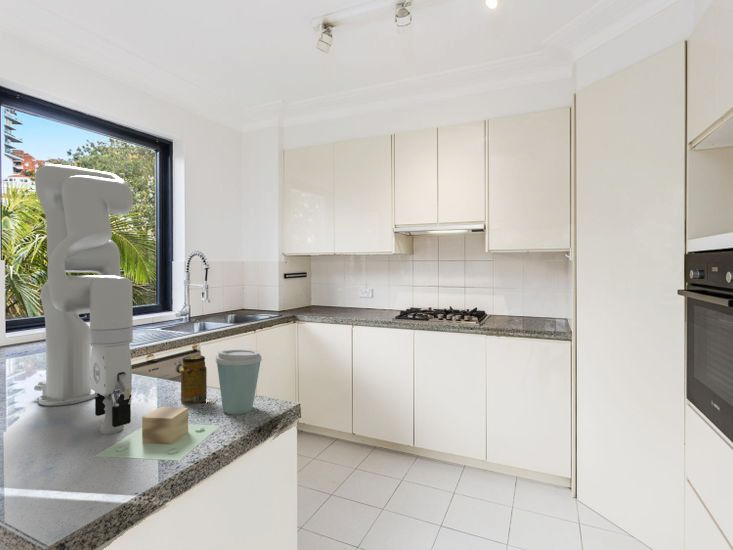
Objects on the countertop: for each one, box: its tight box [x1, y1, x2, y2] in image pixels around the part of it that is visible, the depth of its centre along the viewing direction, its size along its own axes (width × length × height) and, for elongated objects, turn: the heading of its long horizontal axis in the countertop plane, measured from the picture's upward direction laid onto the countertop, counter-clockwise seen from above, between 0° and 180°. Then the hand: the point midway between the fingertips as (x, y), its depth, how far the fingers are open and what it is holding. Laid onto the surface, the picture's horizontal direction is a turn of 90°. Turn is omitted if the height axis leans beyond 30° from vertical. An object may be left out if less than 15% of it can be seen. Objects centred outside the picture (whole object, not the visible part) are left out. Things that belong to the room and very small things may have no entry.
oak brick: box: [141, 406, 189, 444], centre depth 82 cm, size 6×6×5 cm
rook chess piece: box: [99, 395, 125, 435], centre depth 85 cm, size 4×4×8 cm
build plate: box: [94, 423, 221, 462], centre depth 81 cm, size 16×16×1 cm
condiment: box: [180, 354, 219, 406], centre depth 104 cm, size 7×8×12 cm
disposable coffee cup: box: [215, 349, 263, 415], centre depth 98 cm, size 11×11×15 cm
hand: (112, 419), depth 84 cm, fingers open, 9 cm apart
